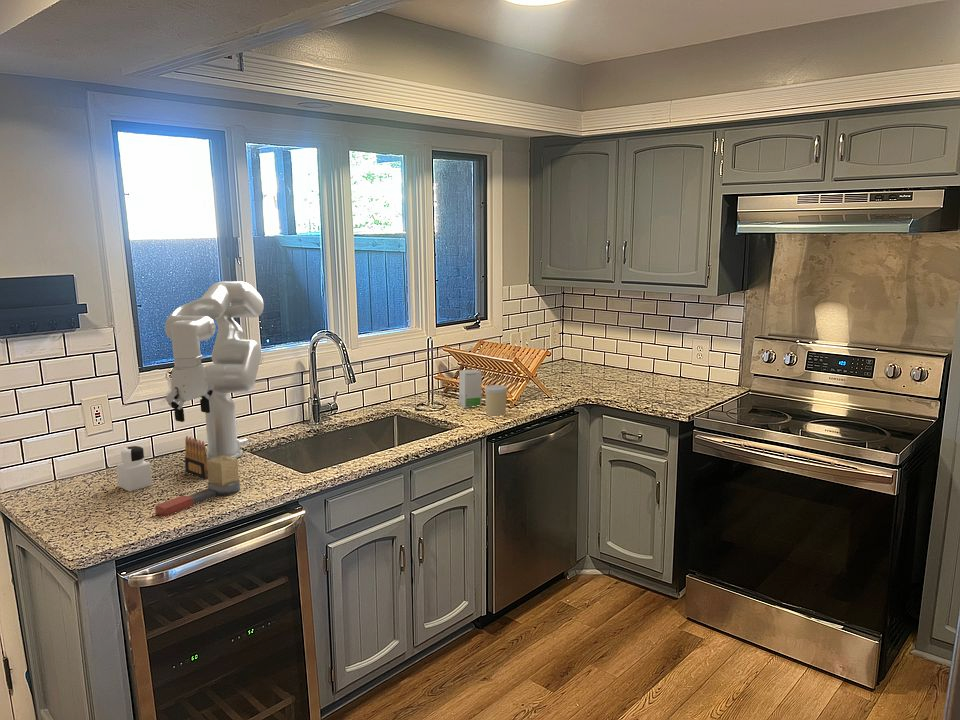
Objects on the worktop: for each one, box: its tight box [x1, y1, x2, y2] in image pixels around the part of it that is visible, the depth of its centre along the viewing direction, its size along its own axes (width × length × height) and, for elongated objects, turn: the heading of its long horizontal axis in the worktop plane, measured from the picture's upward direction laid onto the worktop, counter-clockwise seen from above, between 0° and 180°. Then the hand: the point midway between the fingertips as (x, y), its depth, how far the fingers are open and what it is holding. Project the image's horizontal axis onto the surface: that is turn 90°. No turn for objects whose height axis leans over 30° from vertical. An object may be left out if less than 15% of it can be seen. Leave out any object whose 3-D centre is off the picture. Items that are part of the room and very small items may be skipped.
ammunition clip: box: [184, 435, 208, 480], centre depth 227 cm, size 11×2×12 cm, turn 53°
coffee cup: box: [484, 384, 508, 416], centre depth 297 cm, size 9×9×12 cm
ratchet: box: [154, 479, 241, 518], centre depth 208 cm, size 26×9×6 cm, turn 150°
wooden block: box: [207, 455, 240, 487], centre depth 214 cm, size 6×6×7 cm
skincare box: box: [458, 369, 483, 409], centre depth 312 cm, size 8×7×16 cm
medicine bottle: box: [116, 445, 153, 492], centre depth 218 cm, size 7×7×12 cm
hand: (193, 416), depth 221 cm, fingers open, 9 cm apart
